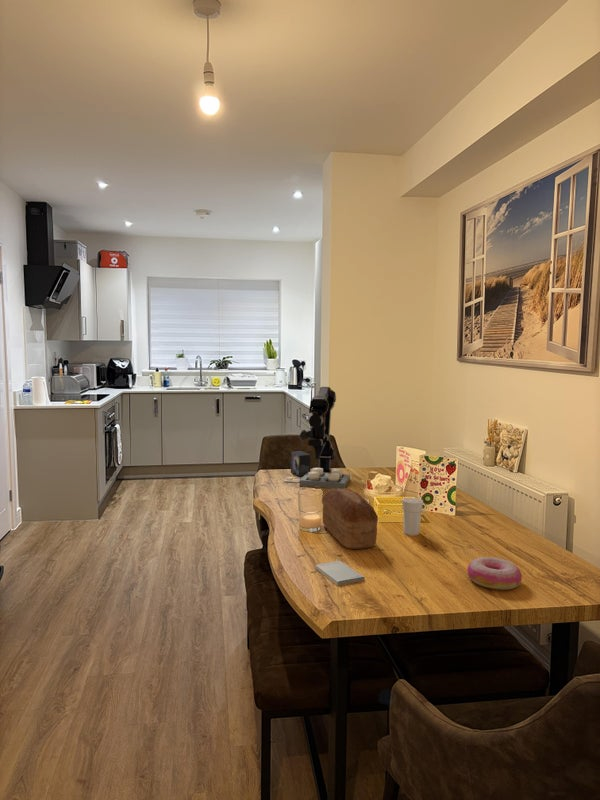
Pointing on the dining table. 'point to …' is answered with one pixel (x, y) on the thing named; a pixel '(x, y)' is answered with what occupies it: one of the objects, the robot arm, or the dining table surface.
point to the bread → (350, 518)
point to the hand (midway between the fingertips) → (318, 458)
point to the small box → (300, 463)
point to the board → (320, 481)
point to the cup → (412, 515)
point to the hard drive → (339, 573)
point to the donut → (494, 573)
